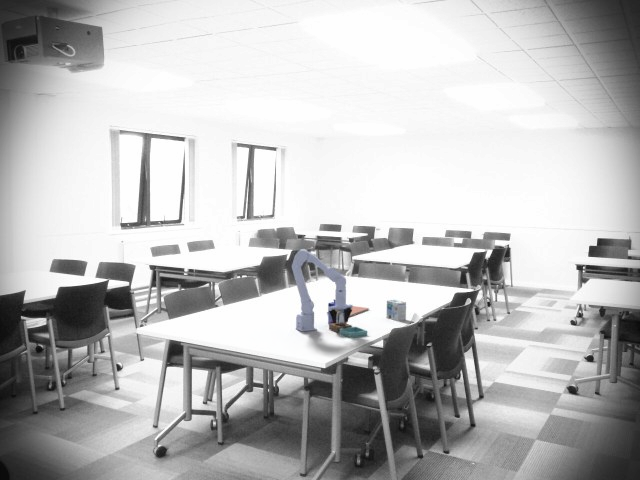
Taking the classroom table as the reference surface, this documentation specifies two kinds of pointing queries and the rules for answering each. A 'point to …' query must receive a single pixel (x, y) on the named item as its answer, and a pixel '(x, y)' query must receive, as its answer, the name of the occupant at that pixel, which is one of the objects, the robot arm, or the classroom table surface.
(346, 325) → the hitch block
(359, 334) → the tray
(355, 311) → the notebook
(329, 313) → the ink cartridge box
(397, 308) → the light bulb box
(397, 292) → the classroom table surface
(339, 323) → the steel pin
